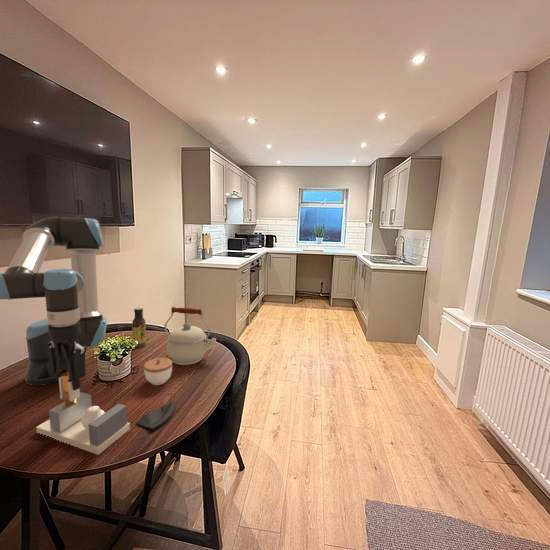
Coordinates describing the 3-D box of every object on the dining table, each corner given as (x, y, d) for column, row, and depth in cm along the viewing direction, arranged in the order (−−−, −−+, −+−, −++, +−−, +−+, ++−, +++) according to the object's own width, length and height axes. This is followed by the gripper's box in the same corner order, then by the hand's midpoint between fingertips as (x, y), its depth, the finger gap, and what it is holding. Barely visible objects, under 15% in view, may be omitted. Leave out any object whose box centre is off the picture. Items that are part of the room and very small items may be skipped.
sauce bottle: (143, 348, 147) (142, 310, 144) (130, 348, 146) (129, 310, 143) (148, 343, 153) (146, 307, 150) (136, 343, 153) (134, 306, 149)
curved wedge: (185, 409, 100) (185, 405, 99) (153, 433, 87) (153, 429, 87) (167, 402, 103) (167, 398, 103) (134, 424, 91) (134, 420, 91)
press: (36, 433, 85) (34, 408, 84) (72, 411, 96) (71, 389, 94) (98, 455, 78) (96, 428, 77) (130, 429, 88) (129, 405, 87)
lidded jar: (163, 390, 110) (162, 367, 109) (138, 386, 112) (137, 363, 111) (177, 376, 120) (177, 355, 119) (155, 373, 122) (154, 352, 121)
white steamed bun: (88, 438, 81) (86, 416, 80) (77, 430, 84) (75, 408, 83) (110, 426, 86) (109, 405, 85) (99, 418, 90) (97, 398, 88)
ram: (50, 429, 84) (45, 381, 82) (82, 409, 93) (79, 366, 91) (60, 432, 83) (56, 384, 80) (92, 412, 92) (88, 368, 90)
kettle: (155, 365, 129) (154, 311, 125) (174, 348, 147) (173, 301, 143) (209, 370, 127) (209, 315, 123) (221, 352, 145) (222, 304, 141)
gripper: (30, 323, 82) (38, 398, 86) (72, 330, 77) (78, 410, 81) (57, 315, 89) (63, 386, 93) (97, 322, 84) (101, 396, 88)
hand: (70, 397), depth 87 cm, fingers closed on ram, 3 cm apart
